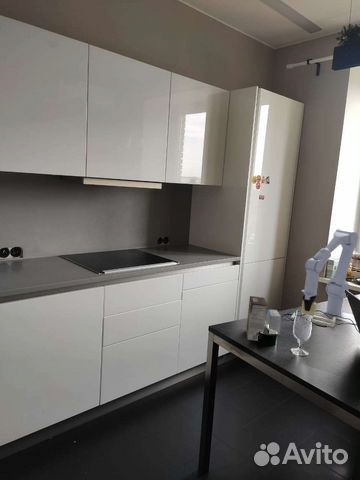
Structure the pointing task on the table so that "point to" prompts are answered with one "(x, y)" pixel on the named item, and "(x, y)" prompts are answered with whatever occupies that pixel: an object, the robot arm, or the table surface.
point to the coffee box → (256, 317)
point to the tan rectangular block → (312, 309)
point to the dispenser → (324, 320)
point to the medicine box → (274, 320)
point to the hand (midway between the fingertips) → (307, 309)
